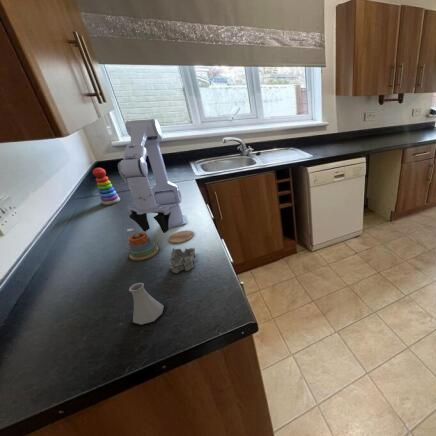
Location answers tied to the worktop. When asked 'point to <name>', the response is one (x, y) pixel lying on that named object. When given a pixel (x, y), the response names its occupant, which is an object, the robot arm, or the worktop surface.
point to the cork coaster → (181, 236)
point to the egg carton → (182, 259)
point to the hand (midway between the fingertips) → (156, 230)
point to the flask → (144, 305)
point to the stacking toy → (105, 187)
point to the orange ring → (138, 241)
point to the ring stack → (142, 250)
